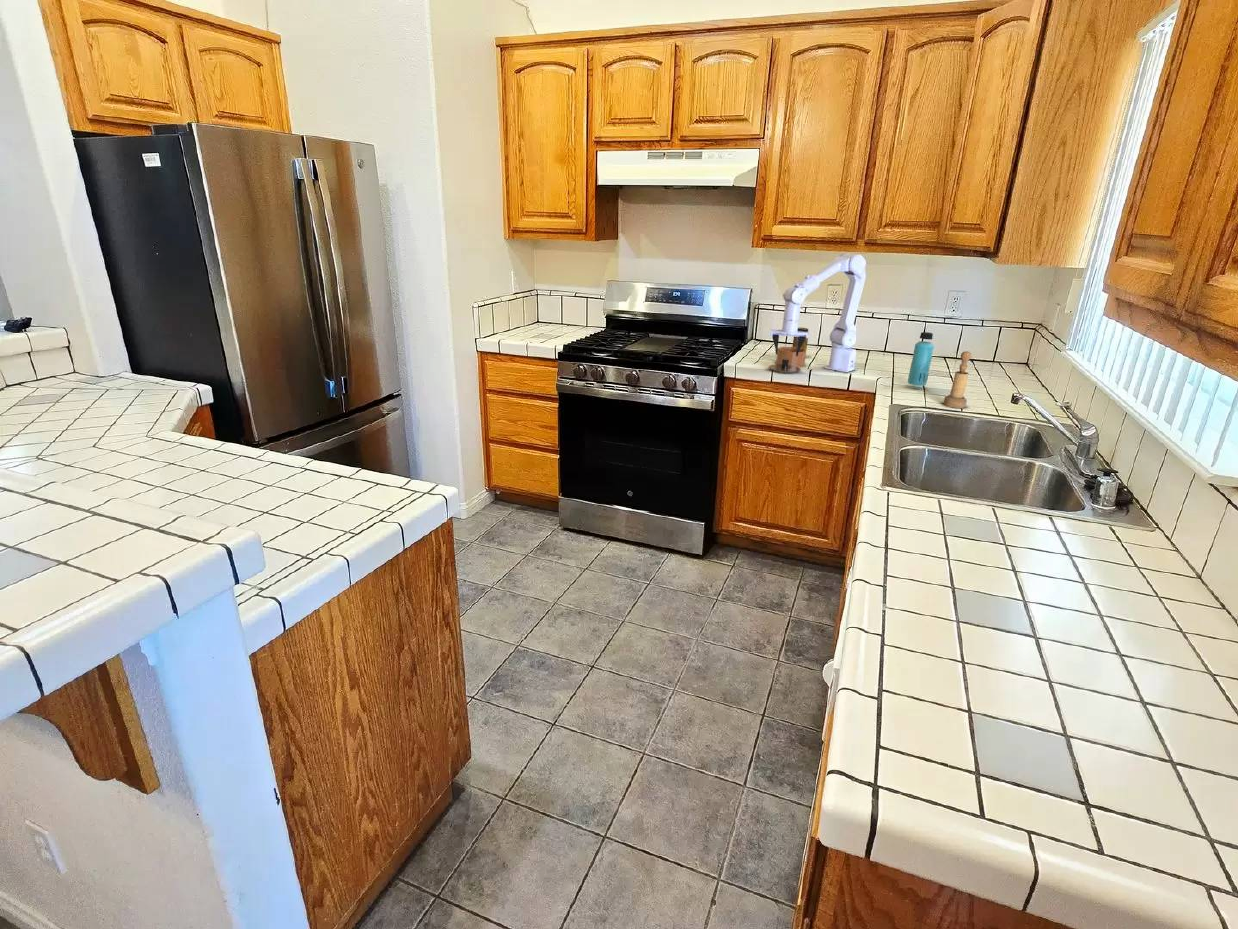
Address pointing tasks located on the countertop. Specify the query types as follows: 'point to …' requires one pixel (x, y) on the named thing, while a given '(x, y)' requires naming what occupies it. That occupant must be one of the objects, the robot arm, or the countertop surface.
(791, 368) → the pot lid
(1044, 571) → the countertop surface
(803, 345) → the condiment
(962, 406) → the mortar and pestle
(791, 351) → the terracotta bowl
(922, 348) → the beverage bottle
